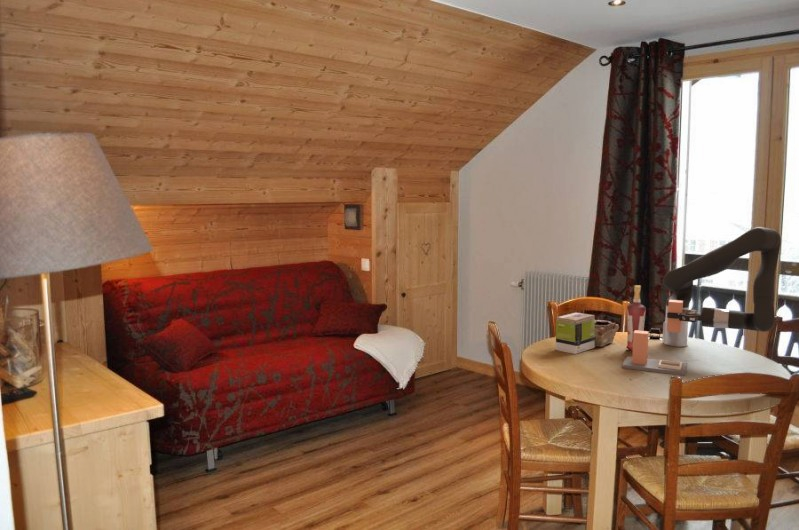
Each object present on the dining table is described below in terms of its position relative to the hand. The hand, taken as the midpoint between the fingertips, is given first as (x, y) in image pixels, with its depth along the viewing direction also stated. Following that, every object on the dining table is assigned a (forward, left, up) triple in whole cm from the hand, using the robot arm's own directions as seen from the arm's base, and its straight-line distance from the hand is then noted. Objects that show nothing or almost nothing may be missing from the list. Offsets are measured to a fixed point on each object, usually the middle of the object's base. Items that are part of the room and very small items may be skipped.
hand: (668, 313), depth 255 cm
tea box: (-28, -23, -19) cm, 41 cm away
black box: (-29, +24, -19) cm, 42 cm away
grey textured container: (-33, -6, -19) cm, 38 cm away
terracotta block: (+2, +2, -7) cm, 7 cm away
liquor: (-15, -2, -19) cm, 24 cm away
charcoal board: (+7, -14, -19) cm, 24 cm away
